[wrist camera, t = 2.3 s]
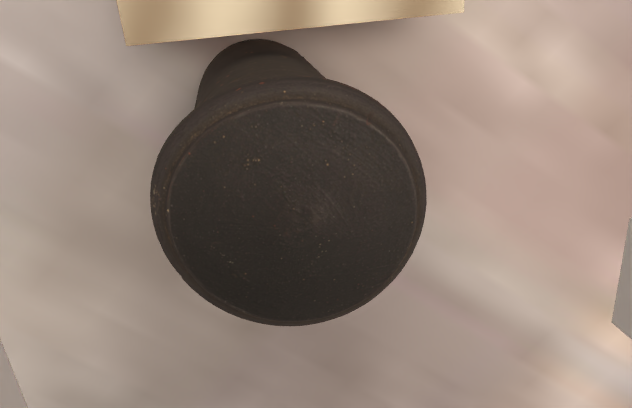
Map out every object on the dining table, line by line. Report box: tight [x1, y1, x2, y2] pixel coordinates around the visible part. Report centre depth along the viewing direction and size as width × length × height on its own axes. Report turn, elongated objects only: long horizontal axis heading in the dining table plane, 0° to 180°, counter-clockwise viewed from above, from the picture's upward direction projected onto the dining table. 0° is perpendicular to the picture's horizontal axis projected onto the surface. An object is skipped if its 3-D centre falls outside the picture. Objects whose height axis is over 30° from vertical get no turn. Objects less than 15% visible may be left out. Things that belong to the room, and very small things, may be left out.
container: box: [150, 39, 426, 326], centre depth 24 cm, size 9×9×20 cm
